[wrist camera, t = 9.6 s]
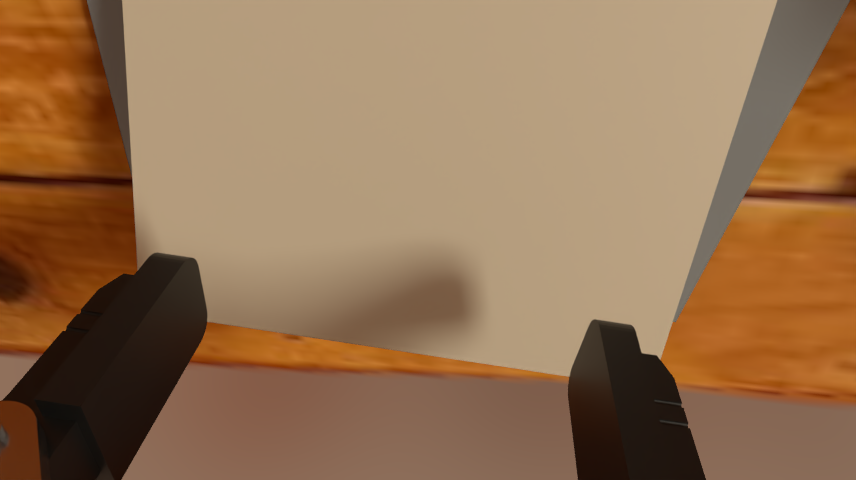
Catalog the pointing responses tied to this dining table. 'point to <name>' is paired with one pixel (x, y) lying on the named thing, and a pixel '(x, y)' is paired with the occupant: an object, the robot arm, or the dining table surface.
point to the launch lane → (450, 158)
